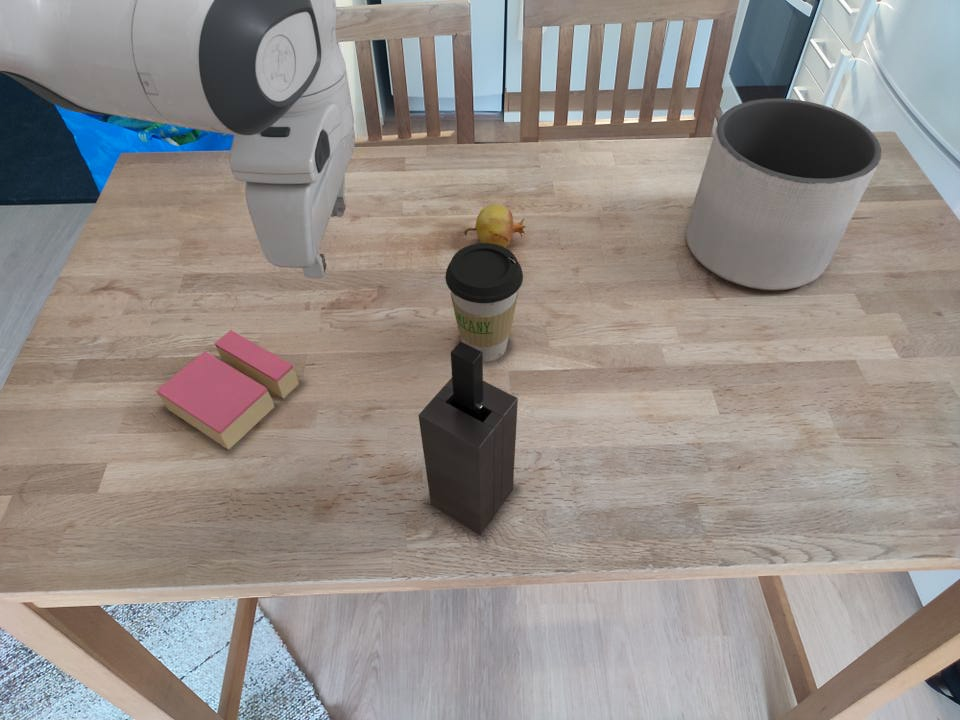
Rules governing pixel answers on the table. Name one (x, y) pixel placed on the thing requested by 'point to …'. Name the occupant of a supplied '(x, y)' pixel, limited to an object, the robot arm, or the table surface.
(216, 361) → the cake
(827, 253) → the planter
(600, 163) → the table surface
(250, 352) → the cake slice
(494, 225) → the fruit
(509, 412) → the knife block
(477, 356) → the knife
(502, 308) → the coffee cup
